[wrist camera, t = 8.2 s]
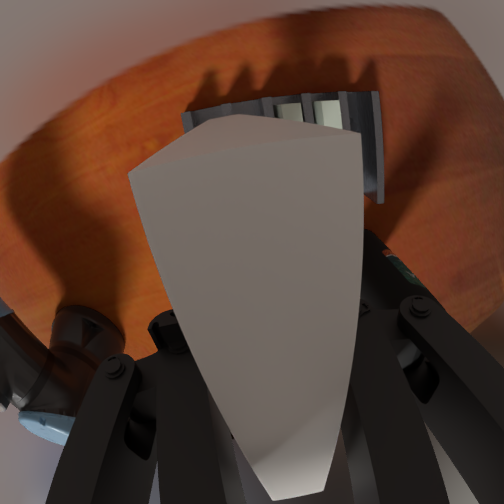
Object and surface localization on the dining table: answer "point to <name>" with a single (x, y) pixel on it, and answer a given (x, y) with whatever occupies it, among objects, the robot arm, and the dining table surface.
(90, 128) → the dining table surface
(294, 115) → the offcut
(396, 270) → the wine bottle
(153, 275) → the dining table surface
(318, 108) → the offcut
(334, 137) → the tall sheet
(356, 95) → the rack
